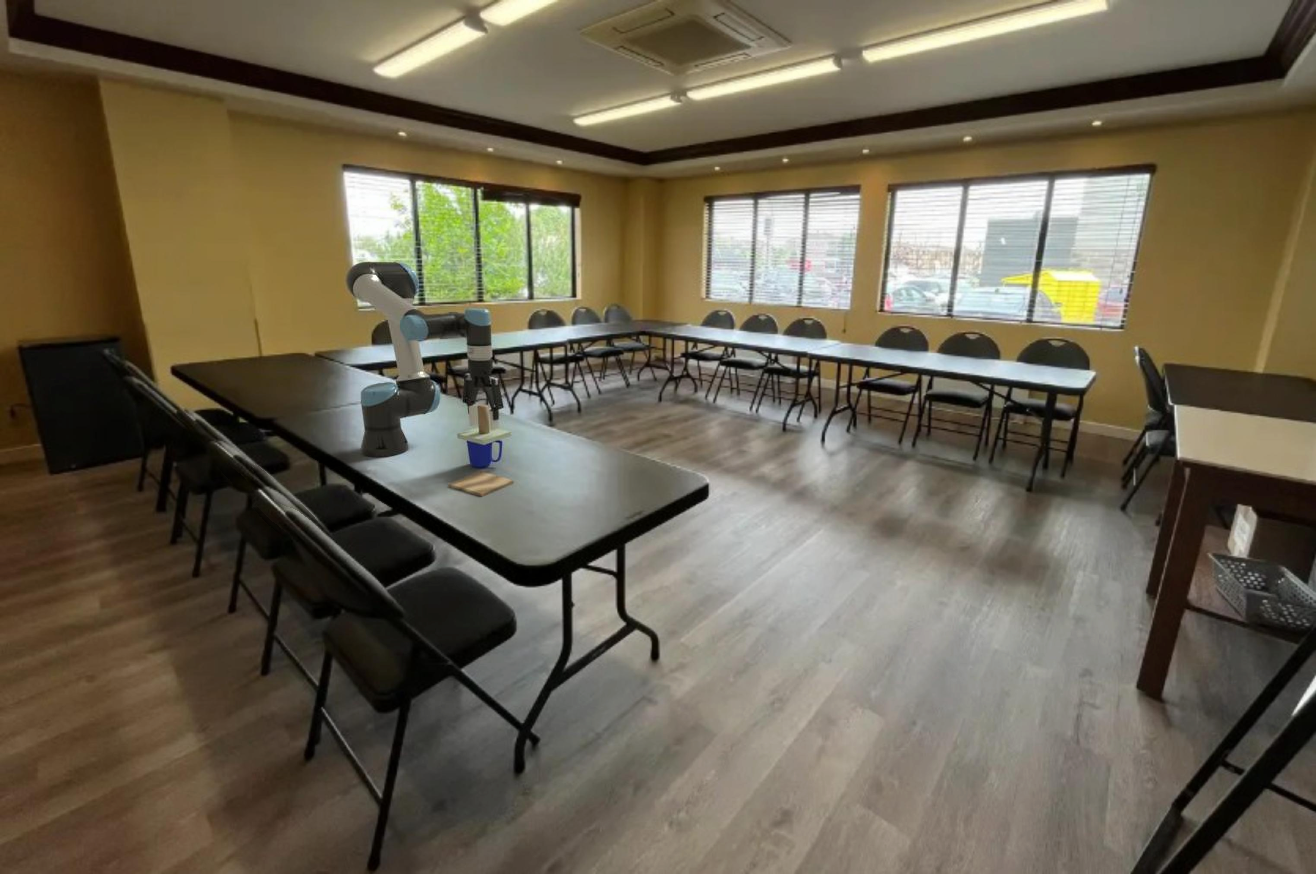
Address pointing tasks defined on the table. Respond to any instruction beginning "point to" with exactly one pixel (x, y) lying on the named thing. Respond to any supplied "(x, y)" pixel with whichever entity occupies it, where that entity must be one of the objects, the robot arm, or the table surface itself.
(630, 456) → the table surface
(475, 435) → the lid
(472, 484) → the mat
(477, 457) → the mug
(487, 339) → the robot arm
